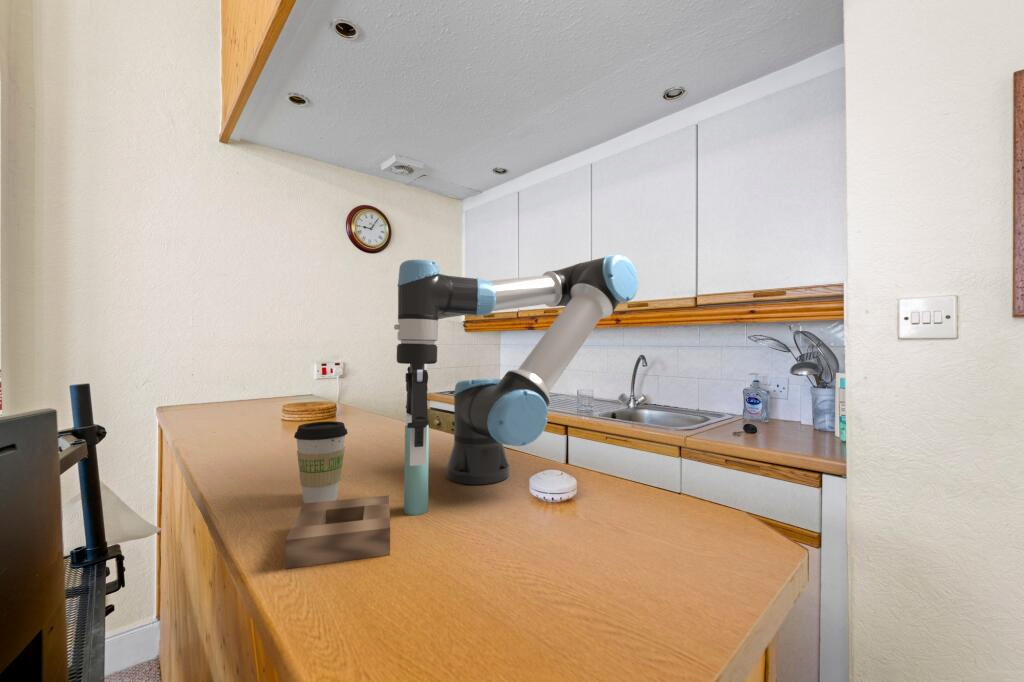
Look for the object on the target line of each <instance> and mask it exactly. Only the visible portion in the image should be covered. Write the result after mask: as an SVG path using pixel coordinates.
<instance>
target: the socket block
mask: <svg viewBox="0 0 1024 682" xmlns="http://www.w3.org/2000/svg"><path fill="white" fill-rule="evenodd" d="M390 510H391V509H390V495H379V496H369V497H359V498H350V499H347V498H346V499H336V500H335V501H326V502H315V503H305V504H304V503H303V504H302V506H301V508H300V510H299V512H298V514H297V516H296V518H295V520H294V522H293V524H292V526H291V528H290V530H289V533H288V534H287V536H286V537H285V541H284V543H285V551H284V553H285V554H284V556H285V557H284V563H285V564H284V568H285V569H284V570H288V569H295V568H302V567H309V566H311V567H312V566H317V565H324V564H332V563H338V562H339V563H340V562H345V561H353V560H362V559H368V558H377V557H384V556H391V516H390V515H391V514H390V513H391V512H390Z"/></svg>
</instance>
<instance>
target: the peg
mask: <svg viewBox="0 0 1024 682" xmlns="http://www.w3.org/2000/svg"><path fill="white" fill-rule="evenodd" d="M410 429H411V428H407V425H406V424H405V425H404V479H403V480H404V484H403V485H404V486H403V487H404V489H403V490H404V492H403V494H404V495H403V496H404V499H403V500H404V503H403V505H404V506H403V507H404V508H403V513H404V514H406V515H408V516H419V515H424V514H426V513H427V512H428V510H429V458H430V457H429V448H430V446H429V445H430V444H429V443H430V442H429V439H430V438H429V437H430V433H429V432H430V425H429V424H428V426H427V439H426V465H415V466H410Z"/></svg>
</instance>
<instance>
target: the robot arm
mask: <svg viewBox="0 0 1024 682" xmlns="http://www.w3.org/2000/svg"><path fill="white" fill-rule="evenodd" d="M439 266H440V265H439V264H438V263H437V262H435V261H431V260H426V259H408V260H405V261H403V262H401V264H400V265H399V271H398V279H397V280H398V281H397V323H396V324H394V326H393V330H398V331H397V337H396V338H397V340H398V341H400V343H398V344H397V345H396V363H397V364H405V365H409V366H407V372H405V377H404V378H405V382H406V383H405V390H406V405H405V409H406V411H405V412H406V414H405V415H406V416H405V418H406V421H405V426H406V425H407V428H411V429H410V466H415V465H426V439H427V426H428V425H429V422H430V421H429V415H428V414H429V413H428V381H429V374H428V370H427V369H425V364H426V365H433V364H436V363H437V362H438V346H437V344H435V342H437V341H439V320H442V319H446V318H447V319H448V318H454V317H455V318H456V317H461V316H475V317H478V316H483V317H485V316H489V315H490V314H491V313H493V312H498V311H503V310H504V311H505V310H511V309H512V310H513V309H518V308H527V307H533V306H541V305H545V306H547V307H549V308H554V307H564V308H563V309H562V310H561V312H560V313H559V314H558V315H557V317H555V319H554V321H553V322H552V324H551V325H550V326H549V328H548V329H547V330H546V331H545V332H544V334H543V335H542V337H541V338H540V340H539V341H538V342H537V344H536V345H535V346H534V347H533V349H532V350H531V351H530V353H529V354H528V356H527V357H526V358H525V360H524V361H523V362H522V363H521V364H520V366H519V368H517V369H513V370H511V369H510V370H508V371H507V372H506V373H505V374H504V375H503V377H502V378H481V379H467V380H460V381H458V382H456V384H455V387H454V394H453V400H454V402H453V404H454V405H453V406H454V408H453V409H454V411H453V412H454V414H453V415H454V416H453V417H454V419H453V421H454V422H453V423H454V424H453V425H454V426H453V428H454V433H453V436H454V440H453V441H454V442H453V447H452V449H451V453H450V456H449V458H448V461H447V464H446V478H447V479H448V480H449V481H451V482H455V483H459V484H463V485H476V486H478V485H489V484H496V483H499V482H501V481H504V480H506V479H507V478H509V476H510V463H509V460H508V456H507V453H506V450H505V447H504V445H506V446H513V447H523V446H527V445H530V444H531V443H533V442H534V441H536V440H537V439H539V438H540V436H541V435H542V434H543V432H544V431H545V429H546V427H547V424H548V420H549V419H548V417H547V416H548V415H549V410H548V407H549V405H550V403H551V398H550V396H551V395H550V392H551V390H552V389H553V387H554V386H555V384H556V383H557V381H558V380H559V379H560V377H561V376H562V374H563V373H564V371H565V370H566V369H567V367H568V366H569V365H570V363H571V362H572V360H573V359H574V357H575V356H576V354H577V353H578V352H579V350H580V348H582V346H583V345H584V343H585V341H587V339H588V337H589V336H590V334H591V333H592V331H594V329H595V327H596V325H598V323H599V322H600V320H601V319H606V318H607V319H608V318H610V317H611V315H613V313H614V311H615V310H616V308H617V307H618V306H619V305H620V304H621V303H627V302H630V301H632V300H633V299H634V298H635V296H636V295H637V292H638V289H639V279H638V278H639V277H638V272H637V270H636V268H635V266H634V264H633V262H632V261H631V260H630V259H629V258H628V257H626V256H625V255H622V254H614V255H612V254H611V255H610V254H608V255H606V256H604V257H600V258H597V259H593V260H592V259H591V260H588V261H584V262H583V261H582V262H579V263H576V264H573V265H570V266H567V267H564V268H561V269H555V270H549V271H545V272H544V273H542V275H537V276H527V277H516V278H508V279H507V278H505V279H495V280H493V279H492V280H486V279H480V278H479V277H476V278H473V277H465V276H463V277H462V276H454V275H445V274H442V273H441V272H440V267H439Z"/></svg>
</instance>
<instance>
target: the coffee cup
mask: <svg viewBox="0 0 1024 682" xmlns="http://www.w3.org/2000/svg"><path fill="white" fill-rule="evenodd" d="M347 434H348V429H347V428H346V426H345V423H344V422H343V421H342V422H341V421H335V420H334V421H332V420H331V421H327V420H326V421H315V422H307V423H303V424H299V425H298V427H297V429H296V432H295V433H294V436H293V438H294V439H296V446H297V451H296V453H297V455H296V456H297V463H298V469H299V470H298V471H299V472H298V473H299V480H300V485H301V490H302V492H301V493H302V499H303V504H305V503H315V502H326V501H336V500H338V494H339V487H340V486H339V485H340V482H341V477H342V470H343V462H344V454H345V441H346V440H345V439H346V435H347Z"/></svg>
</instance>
